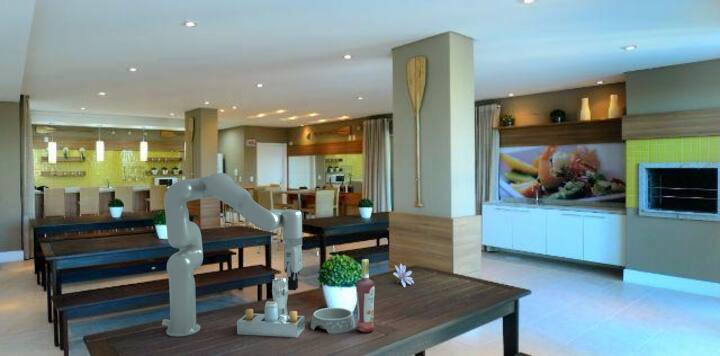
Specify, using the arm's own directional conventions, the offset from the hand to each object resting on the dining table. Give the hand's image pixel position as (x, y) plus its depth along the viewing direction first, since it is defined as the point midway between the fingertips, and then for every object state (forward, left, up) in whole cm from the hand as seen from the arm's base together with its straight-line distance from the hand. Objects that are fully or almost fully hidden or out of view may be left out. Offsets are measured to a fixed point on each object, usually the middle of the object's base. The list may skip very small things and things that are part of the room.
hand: (293, 288), depth 184 cm
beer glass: (-12, +21, -17) cm, 30 cm away
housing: (-9, 0, -17) cm, 19 cm away
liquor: (+28, +6, -17) cm, 33 cm away
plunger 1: (-18, 0, -14) cm, 23 cm away
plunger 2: (0, 0, -14) cm, 14 cm away
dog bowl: (+14, +10, -18) cm, 24 cm away
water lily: (+38, +77, -17) cm, 88 cm away
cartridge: (-9, 0, -17) cm, 19 cm away
